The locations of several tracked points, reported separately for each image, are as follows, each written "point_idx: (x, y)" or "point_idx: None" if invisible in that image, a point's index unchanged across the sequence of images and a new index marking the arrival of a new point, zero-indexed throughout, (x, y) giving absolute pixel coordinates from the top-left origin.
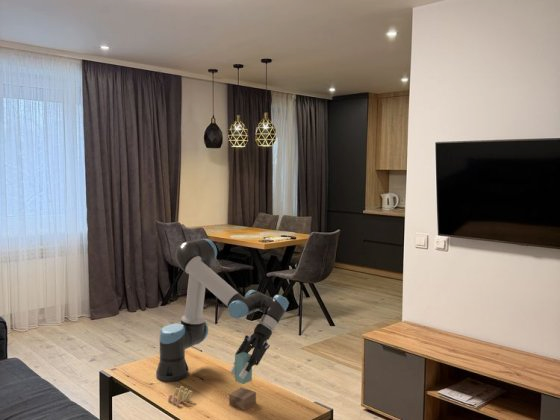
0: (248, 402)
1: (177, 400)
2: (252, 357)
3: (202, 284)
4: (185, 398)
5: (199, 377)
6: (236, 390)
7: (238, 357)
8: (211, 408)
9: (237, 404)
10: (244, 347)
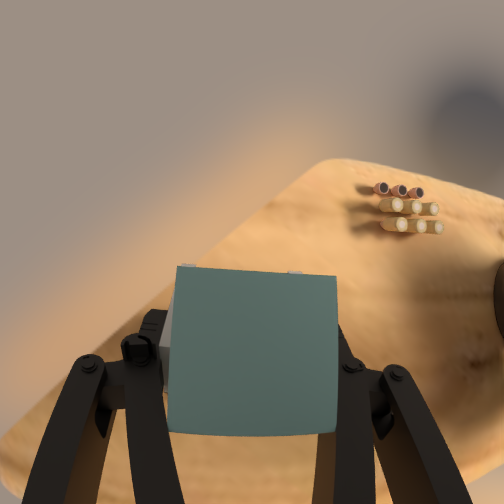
0: None
1: (384, 182)
2: (132, 400)
3: None
4: (383, 205)
5: (483, 361)
6: None
7: (265, 276)
8: (293, 248)
9: None
10: (404, 488)
